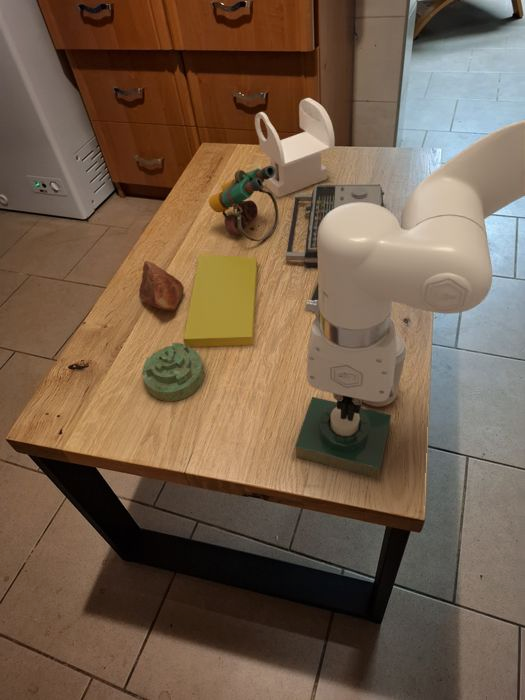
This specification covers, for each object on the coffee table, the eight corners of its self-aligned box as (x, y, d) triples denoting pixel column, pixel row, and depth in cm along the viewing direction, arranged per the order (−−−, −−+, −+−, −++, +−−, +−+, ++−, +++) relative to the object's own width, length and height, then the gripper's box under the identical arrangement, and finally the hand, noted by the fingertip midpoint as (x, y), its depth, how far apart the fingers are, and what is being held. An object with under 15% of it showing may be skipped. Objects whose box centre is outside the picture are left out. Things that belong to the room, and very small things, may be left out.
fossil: (176, 313, 88) (144, 266, 84) (141, 330, 91) (109, 285, 87) (197, 288, 98) (171, 245, 95) (166, 304, 102) (139, 263, 98)
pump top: (361, 416, 69) (362, 408, 67) (355, 440, 67) (356, 432, 65) (334, 409, 70) (334, 401, 68) (327, 432, 68) (327, 425, 66)
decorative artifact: (150, 357, 86) (142, 403, 79) (139, 330, 81) (130, 377, 74) (206, 352, 85) (202, 399, 79) (198, 325, 80) (194, 373, 74)
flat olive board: (253, 344, 86) (258, 259, 101) (251, 336, 84) (257, 250, 100) (186, 347, 87) (201, 261, 102) (183, 339, 85) (199, 253, 101)
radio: (388, 247, 92) (284, 246, 95) (385, 269, 96) (285, 267, 99) (384, 179, 107) (295, 180, 110) (382, 200, 111) (296, 200, 114)
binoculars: (263, 223, 115) (228, 168, 108) (309, 207, 105) (273, 144, 98) (234, 258, 107) (194, 201, 100) (281, 243, 98) (240, 179, 91)
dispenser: (389, 425, 73) (393, 407, 69) (378, 478, 67) (381, 461, 64) (312, 407, 76) (311, 388, 72) (295, 456, 71) (294, 439, 67)
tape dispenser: (283, 203, 114) (279, 127, 101) (257, 180, 122) (250, 106, 108) (333, 183, 118) (335, 107, 104) (305, 162, 126) (303, 89, 112)
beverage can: (358, 373, 80) (364, 323, 70) (398, 380, 78) (409, 329, 69) (352, 405, 76) (357, 356, 67) (394, 412, 74) (405, 363, 65)
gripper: (277, 329, 52) (288, 421, 66) (421, 355, 47) (400, 448, 61) (297, 283, 56) (303, 379, 70) (430, 303, 52) (409, 401, 66)
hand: (348, 411), depth 66 cm, fingers closed
